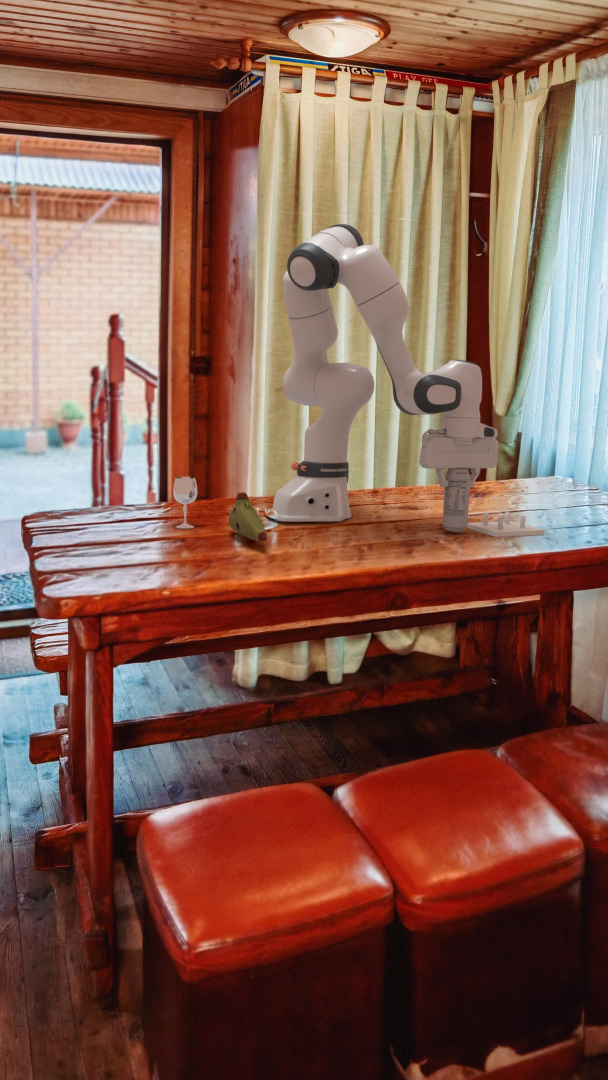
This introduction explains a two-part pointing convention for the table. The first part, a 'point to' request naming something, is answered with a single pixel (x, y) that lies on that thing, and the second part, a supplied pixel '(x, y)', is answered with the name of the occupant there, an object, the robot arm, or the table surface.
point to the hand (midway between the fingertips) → (457, 487)
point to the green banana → (246, 519)
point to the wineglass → (185, 494)
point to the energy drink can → (456, 499)
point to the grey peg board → (505, 527)
